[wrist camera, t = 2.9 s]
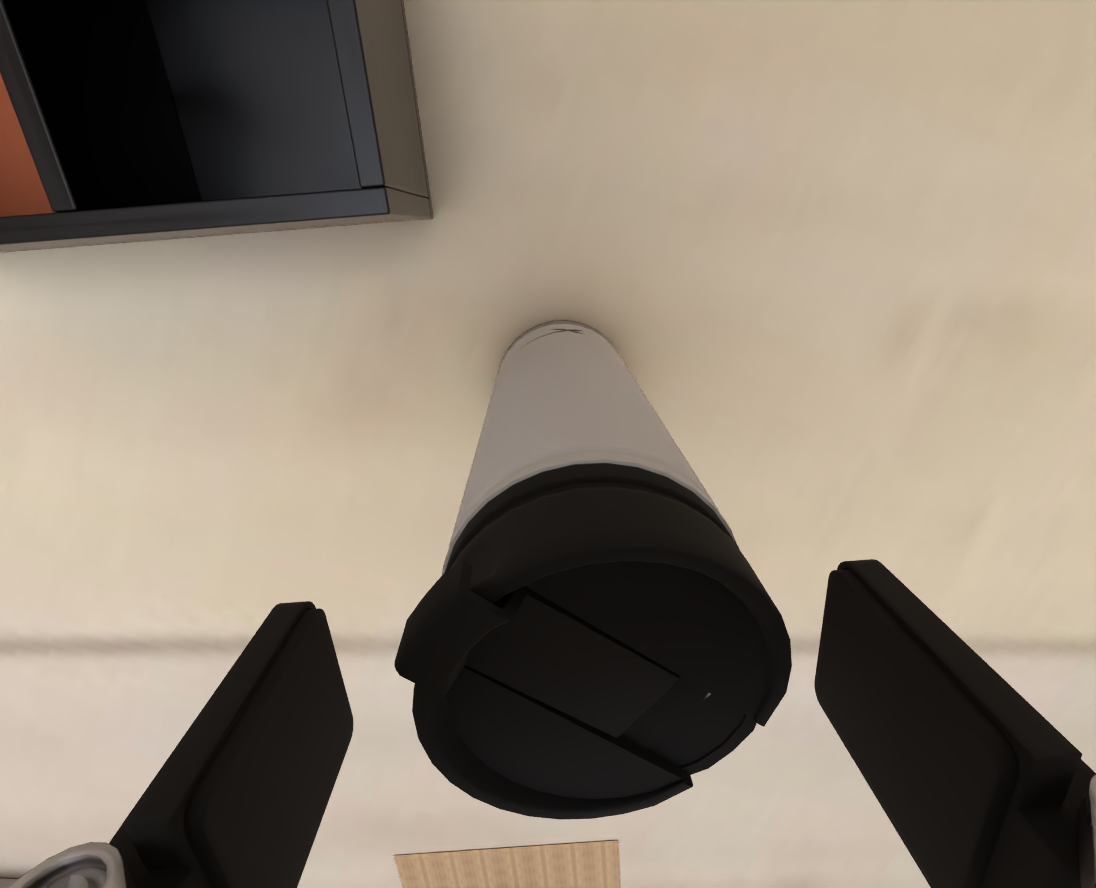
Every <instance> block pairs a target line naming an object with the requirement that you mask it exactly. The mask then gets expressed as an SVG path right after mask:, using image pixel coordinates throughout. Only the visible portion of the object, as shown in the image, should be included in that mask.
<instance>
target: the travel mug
mask: <svg viewBox="0 0 1096 888" xmlns="http://www.w3.org/2000/svg"><path fill="white" fill-rule="evenodd" d="M791 667H792V663H791V646H790V638H789V635H788V633H787V630H786V627H785V624H784V621H783V619H782V616H781V614H780V612H779V611H778V609H777V607H776V606H775V604H774V603H773V601H772V600H771V598H770V596H769V595H768V593H767V592H766V590H765V588H764V587H763V585H762V584H761V582H760V580H759V579H758V577H757V576H756V574H755V572H754V571H753V569H752V568H751V566H750V564H749V563H748V561H747V560H746V558H745V557H744V556H743V554H742V553H741V551H740V550H739V547H738V545H737V544H736V541H735V539H734V536H733V533H732V531H731V529H730V527H729V526H728V524H727V523H726V521H725V519H724V518H723V517H722V515H721V514H720V512H719V511H718V508H717V507H716V505H715V504H714V502H713V501H712V499H711V497H710V496H709V494H708V493H707V491H706V490H705V488H704V487H703V485H702V483H701V482H700V480H699V479H698V477H697V476H696V474H695V472H694V471H693V469H692V468H691V466H690V465H689V463H688V461H687V460H686V458H685V457H684V455H683V454H682V452H681V451H680V449H679V447H678V446H677V444H676V443H675V441H674V440H673V438H672V436H671V435H670V433H669V432H668V430H667V429H666V427H665V426H664V424H663V422H662V421H661V419H660V418H659V416H658V415H657V413H656V411H655V410H654V408H653V407H652V405H651V404H650V402H649V400H648V399H647V397H646V396H645V394H644V393H643V391H642V390H641V388H640V386H639V385H638V383H637V382H636V380H635V379H634V377H633V375H632V374H631V372H630V371H629V369H628V368H627V366H626V365H625V363H624V361H623V360H622V358H621V357H620V355H619V354H618V352H617V351H616V349H615V348H614V346H613V345H612V343H611V342H610V341H609V340H608V339H607V338H606V337H605V336H603V335H602V334H601V333H600V332H598V331H596V330H595V329H593V328H592V327H589V326H587V325H584V324H581V323H579V322H572V321H551V322H547V323H543V324H539V325H537V326H535V327H533V328H531V329H529V330H527V331H526V332H525V333H523V334H522V335H521V336H519V337H518V338H517V339H516V340H515V341H514V342H513V343H512V345H511V346H510V347H509V348H508V350H507V352H506V353H505V355H504V357H503V359H502V362H501V365H500V368H499V371H498V374H497V378H496V381H495V385H494V389H493V392H492V396H491V399H490V403H489V406H488V410H487V413H486V417H485V420H484V424H483V428H482V431H481V435H480V438H479V442H478V445H477V449H476V452H475V456H474V459H473V463H472V467H471V470H470V474H469V477H468V481H467V484H466V488H465V491H464V495H463V498H462V502H461V505H460V509H459V513H458V516H457V520H456V523H455V527H454V530H453V534H452V537H451V541H450V544H449V550H448V553H447V556H446V559H445V562H444V566H443V572H442V576H441V577H440V579H439V580H438V581H437V582H436V583H435V584H434V585H433V587H432V588H431V589H430V590H429V591H428V592H427V594H426V595H425V596H424V597H423V599H422V600H421V601H420V603H419V604H418V605H417V607H416V608H415V610H414V611H413V612H412V614H411V615H410V616H409V618H408V619H407V622H406V625H405V629H404V632H403V636H402V639H401V642H400V646H399V649H398V652H397V656H396V659H395V668H396V671H397V672H398V673H399V675H400V676H402V677H404V678H406V679H408V680H410V681H412V682H414V683H415V686H414V695H413V709H412V712H413V717H414V721H415V726H416V730H417V734H418V738H419V741H420V742H421V744H422V746H423V748H424V750H425V751H426V753H427V755H428V757H429V759H430V760H431V762H432V764H433V765H434V766H435V767H436V768H437V769H438V770H439V771H440V772H441V773H442V774H443V775H444V776H445V777H446V778H447V779H448V780H449V781H450V782H451V783H452V784H454V785H455V786H457V787H458V788H460V789H461V790H463V791H464V792H466V793H467V794H469V795H470V796H472V797H473V798H475V799H478V800H480V801H482V802H485V803H487V804H489V805H492V806H494V807H496V808H499V809H502V810H506V811H510V812H514V813H518V814H522V815H526V816H533V817H542V818H552V819H592V818H599V817H606V816H613V815H620V814H625V813H629V812H632V811H636V810H640V809H644V808H648V807H651V806H655V805H657V804H659V803H661V802H663V801H665V800H667V799H669V798H671V797H673V796H675V795H677V794H679V793H681V792H683V791H685V790H687V789H689V788H691V787H693V783H692V780H691V776H690V775H691V774H694V773H697V772H700V771H702V770H705V769H708V768H710V767H711V766H712V765H714V764H715V763H717V762H718V761H719V760H721V759H722V758H724V757H725V756H726V755H728V754H729V753H731V752H732V751H733V750H734V749H735V748H736V747H737V746H738V745H739V744H740V743H741V742H742V741H743V740H744V739H745V738H746V737H747V736H748V735H749V734H750V733H751V732H752V731H753V730H754V728H755V726H756V723H758V724H760V725H762V726H765V724H766V723H767V721H768V720H769V718H770V716H771V715H772V713H773V712H774V710H775V709H776V707H777V706H778V704H779V703H780V701H781V700H782V698H783V697H784V695H785V694H786V691H787V686H788V681H789V677H790V672H791Z"/></svg>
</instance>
